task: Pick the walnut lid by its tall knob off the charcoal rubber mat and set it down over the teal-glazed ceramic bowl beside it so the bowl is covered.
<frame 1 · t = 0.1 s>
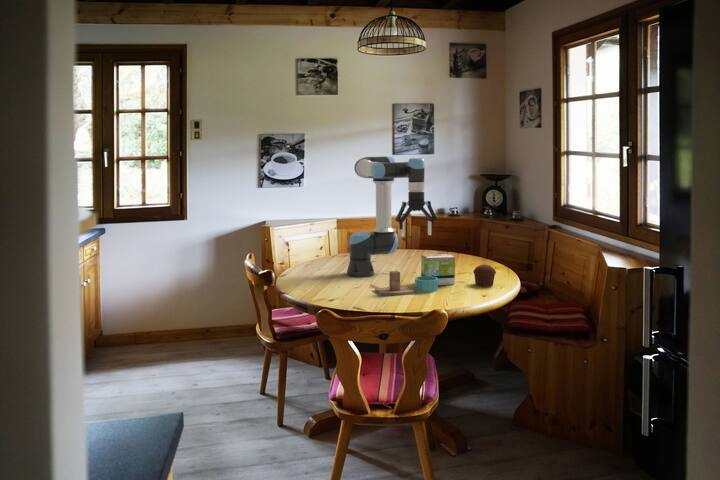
hand: (416, 235, 289), 28 cm above the table, fingers open, 13 cm apart
muffin: (484, 284, 308), on the table
charcoal mat: (394, 292, 292), on the table
tea box: (437, 284, 312), on the table
teal bowl: (426, 290, 297), on the table
walnut lid: (394, 282, 291), on the charcoal mat
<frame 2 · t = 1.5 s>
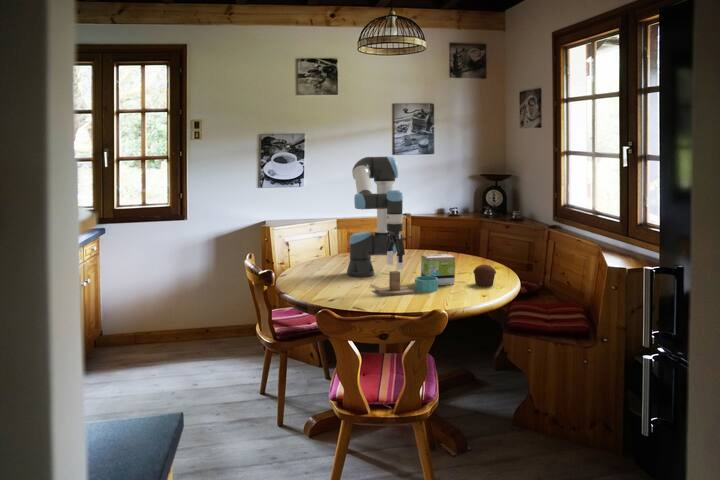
hand: (394, 266, 290), 13 cm above the table, fingers open, 13 cm apart
nothing on the table moved.
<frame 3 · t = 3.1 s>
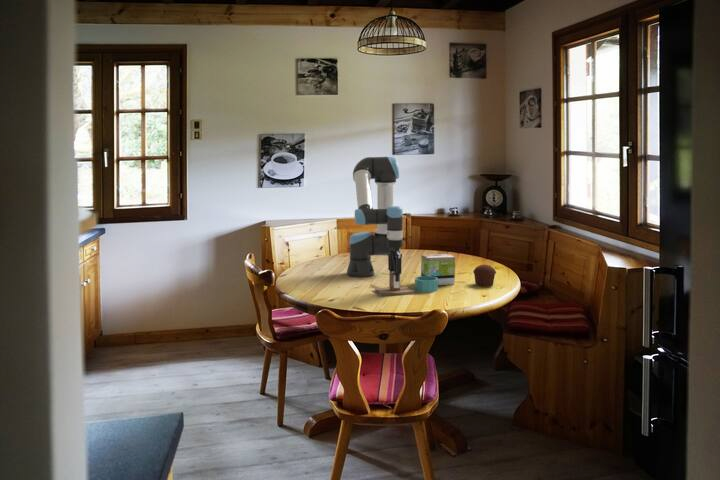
hand: (394, 286, 292), 3 cm above the table, fingers closed on walnut lid, 4 cm apart
walnut lid: (394, 282, 291), on the charcoal mat, touching gripper
everything else where it was.
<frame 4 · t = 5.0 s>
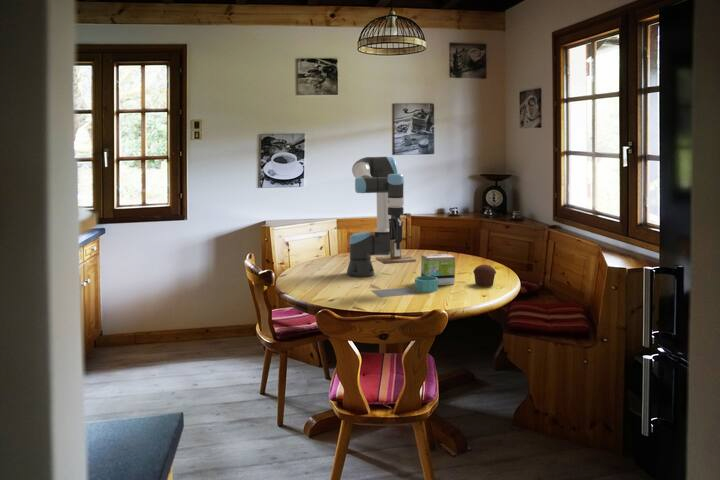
hand: (395, 255, 289), 19 cm above the table, fingers closed on walnut lid, 4 cm apart
walnut lid: (395, 250, 289), point 21 cm above the table, touching gripper
everything else where it was.
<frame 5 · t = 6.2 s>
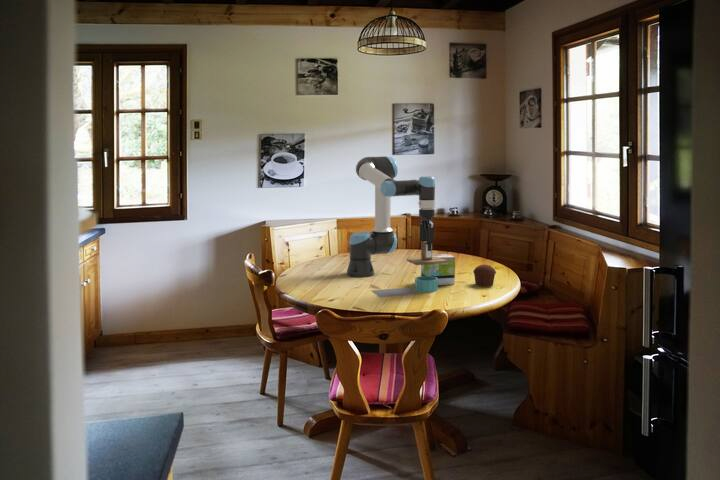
hand: (426, 256, 294), 17 cm above the table, fingers closed on walnut lid, 4 cm apart
walnut lid: (426, 251, 294), point 19 cm above the table, touching gripper
everything else where it was.
when the fingers open (10 cm above the table, at t = 7.3 s): walnut lid drops 1 cm, resting on teal bowl.
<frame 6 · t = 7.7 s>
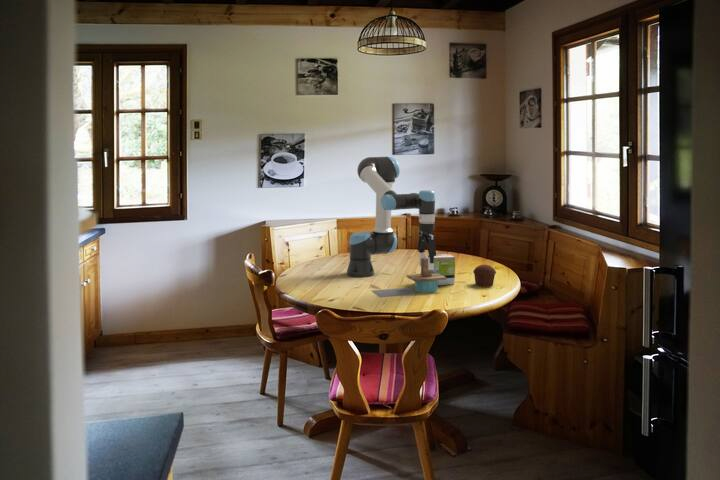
hand: (426, 267, 295), 11 cm above the table, fingers open, 10 cm apart
walnut lid: (426, 268, 295), on the teal bowl, point 11 cm above the table
everything else where it was.
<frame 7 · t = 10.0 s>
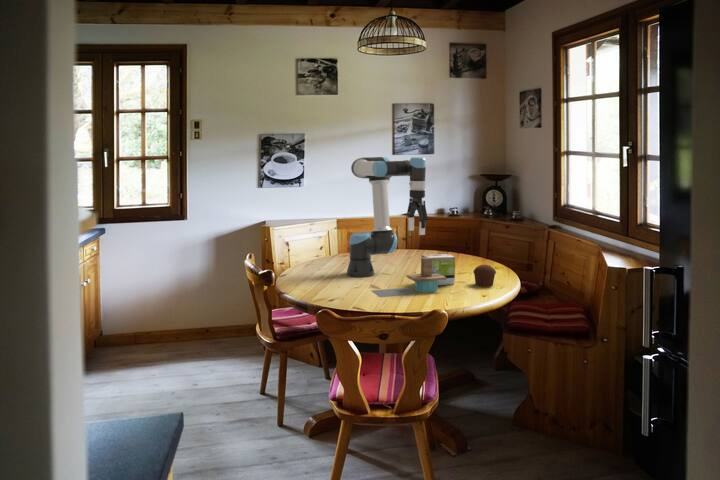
hand: (416, 232, 297), 28 cm above the table, fingers open, 13 cm apart
nothing on the table moved.
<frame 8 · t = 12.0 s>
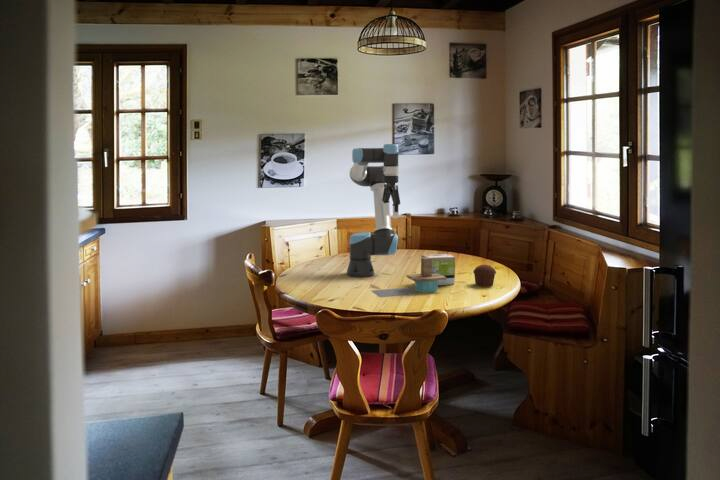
hand: (391, 217, 306), 35 cm above the table, fingers open, 13 cm apart
nothing on the table moved.
at the end: walnut lid 0.1 cm off-centre on the teal bowl, point 11.0 cm above the teal bowl's base; walnut lid tilted 0°; the gripper is holding nothing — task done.
